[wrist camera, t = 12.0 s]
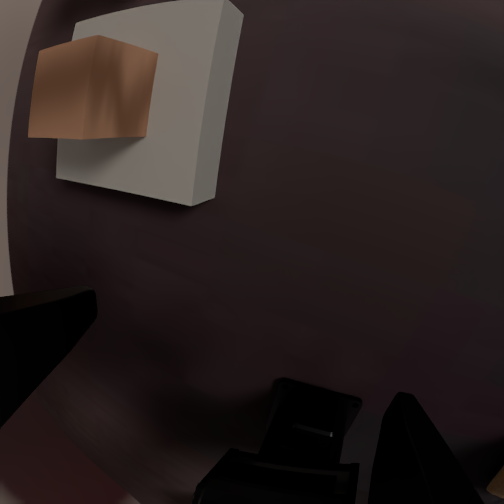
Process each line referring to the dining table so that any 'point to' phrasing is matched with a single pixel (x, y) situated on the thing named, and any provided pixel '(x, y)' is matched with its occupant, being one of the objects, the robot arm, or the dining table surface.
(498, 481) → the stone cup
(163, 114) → the grey base
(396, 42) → the dining table surface
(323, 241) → the dining table surface
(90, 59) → the terracotta cube
